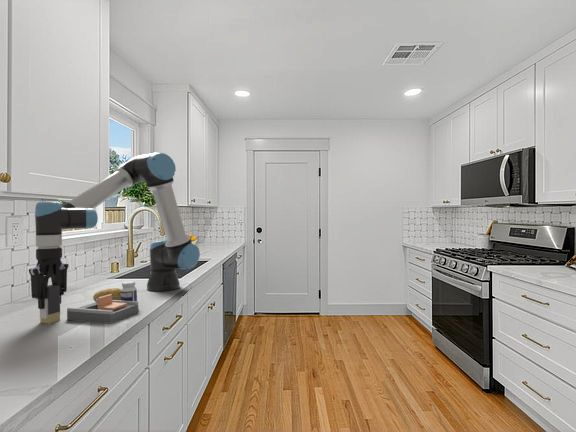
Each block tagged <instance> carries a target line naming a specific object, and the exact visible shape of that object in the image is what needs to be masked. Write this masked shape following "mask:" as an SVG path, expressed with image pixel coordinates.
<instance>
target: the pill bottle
mask: <svg viewBox="0 0 576 432" xmlns="http://www.w3.org/2000/svg"><path fill="white" fill-rule="evenodd" d="M121 287H122V288H120V289H121V301H137V302H138V292H137V291H138V289H137V287H136V281H134V280H129V281H123V282H122V283H121Z"/></svg>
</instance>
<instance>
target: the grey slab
mask: <svg viewBox="0 0 576 432" xmlns="http://www.w3.org/2000/svg"><path fill="white" fill-rule="evenodd" d="M112 302H116V303H127V306H124V307H121V308H119V309H116V310H100V309H98V305H97V299H96V302H95V301H94V302H93V303H89V304H86V305H82V306H79V307H66V318H67V319H66V320H67V321H76V322H77V321H79V322H90V323H91V322H92V323H101V324H102V323H103V324H113V323H116V322H117V321H120V320H123V319H126V318H128V317H130V316H133V315H135V314H138V313H139V301H138V300H137V301H121V300H112Z"/></svg>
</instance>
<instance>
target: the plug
mask: <svg viewBox="0 0 576 432" xmlns="http://www.w3.org/2000/svg"><path fill="white" fill-rule="evenodd" d="M46 299H48V318H47V319H44V318H40V317H39V320H40V321H39V322H40V324H49V325H50V324H53V323H56V322H60V321H61V304H60V285H52V284H49V285H48V286H47V292H46Z"/></svg>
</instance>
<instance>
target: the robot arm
mask: <svg viewBox="0 0 576 432" xmlns="http://www.w3.org/2000/svg"><path fill="white" fill-rule="evenodd" d="M175 172H176V163H175V161H174V160H173V159H172V157H171V156H170V155H168V154H167V153H164V152H153V153H152V152H151V153H148V154H147V153H146V154H141V155H137V156H134V157H132V158H131V159H129V160H127V161H126V162H124V163H122V164H121V165H120V166H118V167H117V168H115V171H114V172H113V173H112V174H110V175H109V176H107V177H106V178H103V180H101V181H99V182H98V183H96V184H95V185H93V186H91V187H89V188H88V189H86V190H85V191H83V192H82V193H80V194H78V195H77V196H75V197H74V198H72V199H70V200H68V201H67V202H66V203H64V204H62V202H60V201H39V202H37V203H36V204H35V210H34V217H35V219H34V220H35V223H34V224H35V247H36V250H35V258H36V261H37V264H36V266H35V267H33V268H29V269H28V273H29V275H30V288H31V290H30V291H31V298H32V299H36V300H37V308H38V309H39V319H40V318H44V319H47V318H48V299H46V292H47V286H48V284H49V279H50V280H51V285H60V305H61V304H62V296H64V295H65V293H66V292H67V290H68V289H67V287H68V286H67V285H68V269H69V264H68V263H63V262H62V260H61V259H62V258H63V248H62V247H61V246H63V230H79V229H84V230H87V229H93V228H94V227H96V226H97V224H98V219H99V218H98V212H97V211H96V210H95V209H96V208H97V207H99V206H101V204H103V203H104V202H106V201H107V200H109V199H110V198H112V197H114V196H115V195H116V194H118V193H119V192H121V191H122V190H124V189H125V188H131V187H132V186H135V185H137V184H139V183H142V182H145V184H146V188H147V189H149V190H151V193H152V194H153V195H152V196H153V198H154V202H155V205H156V208H157V212H158V215H159V219H160V221H161V224H162V227H163V232H164V235H165V238H166V240H157V241H152V242H151V243H150V247H149V256H150V257H149V258H150V261H149V262H150V273H149V277H148V280H147V284H146V290H147V291H151V292H165V291H167V292H168V291H174V290H178V289H179V288H180V286H181V285H180V283H181V282H180V280H179V278H178V274H177V270H176V269H180V270H190V269H193V268H194V267H195V266H196V265H197V264H198V261H199V259H200V255H201V252H200V249H199V246H197V245H196V244H194V243H193V242H192V239H191V236H189V235H187V233H186V231H185V227H184V224H183V220H182V216H181V213H180V210H179V206H178V203H177V199H176V196H175V194H174V193H175V192H174V189H173V186H172V185H173V183H174V176H175V174H176V173H175Z"/></svg>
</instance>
